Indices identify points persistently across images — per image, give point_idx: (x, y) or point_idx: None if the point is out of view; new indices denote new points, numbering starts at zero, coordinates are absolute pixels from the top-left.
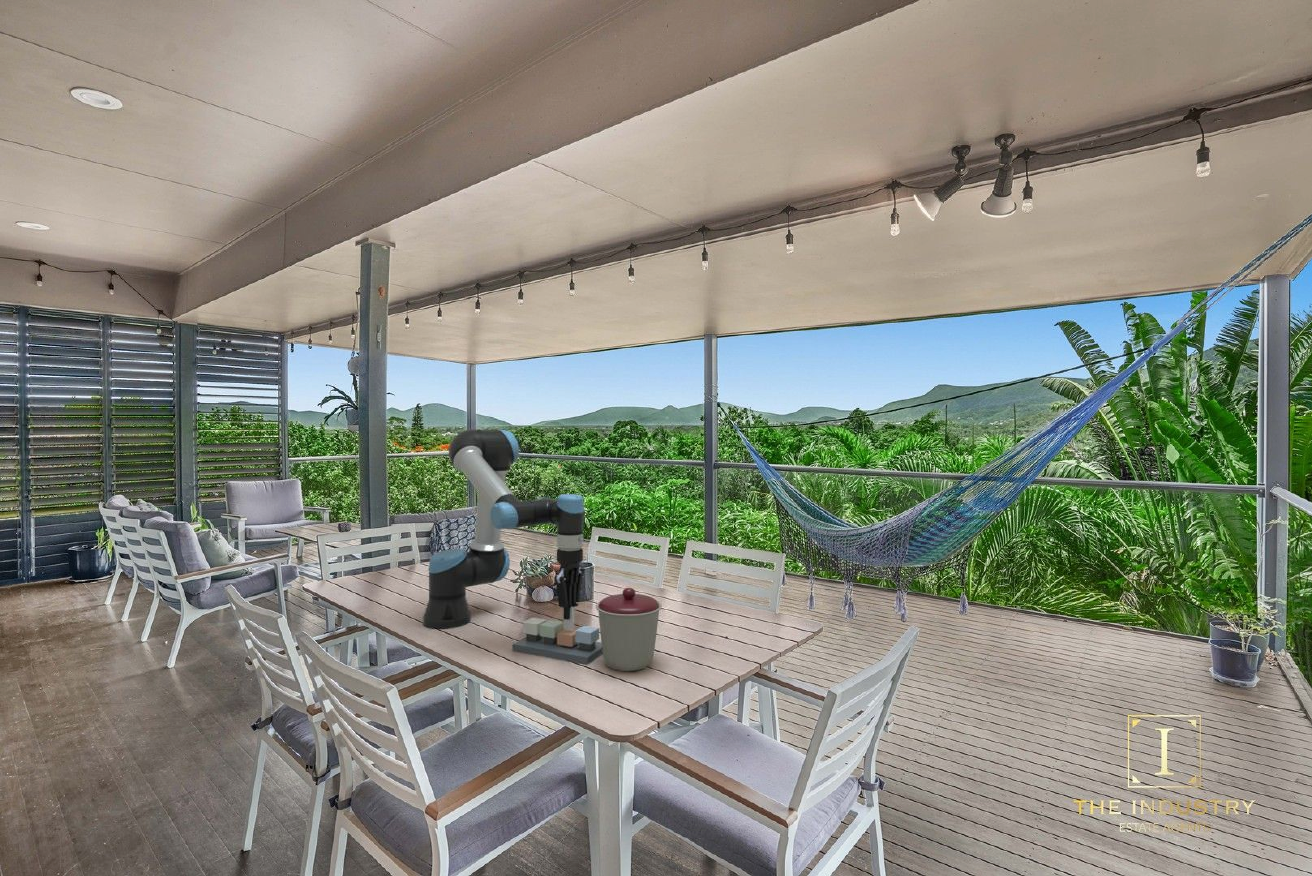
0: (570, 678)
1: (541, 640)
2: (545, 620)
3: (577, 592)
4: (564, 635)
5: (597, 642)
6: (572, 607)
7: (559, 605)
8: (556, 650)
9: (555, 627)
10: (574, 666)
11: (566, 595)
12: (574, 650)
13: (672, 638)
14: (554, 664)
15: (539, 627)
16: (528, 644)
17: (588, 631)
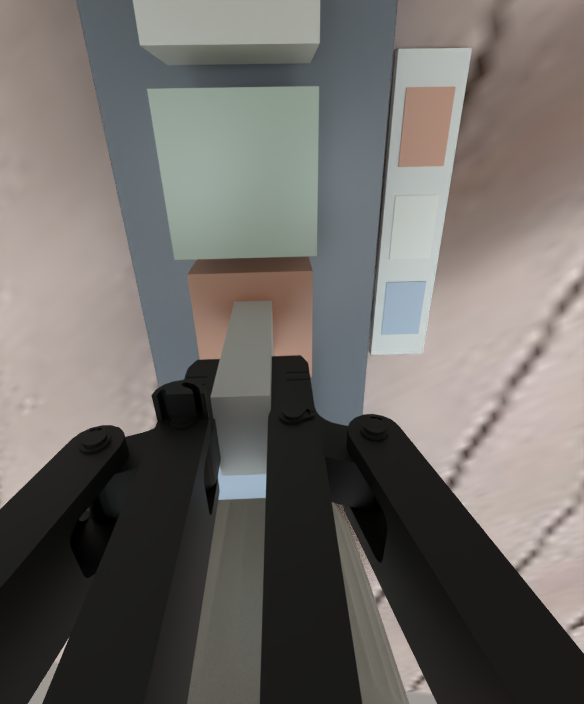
0: (34, 433)
1: (244, 73)
2: (302, 43)
3: (386, 591)
4: (195, 327)
5: (355, 394)
6: (246, 469)
7: (69, 451)
8: (156, 279)
9: (192, 258)
10: (134, 390)
11: (37, 660)
12: None
13: (547, 533)
14: (94, 307)
15: (197, 54)
16: (126, 25)
17: (230, 480)
